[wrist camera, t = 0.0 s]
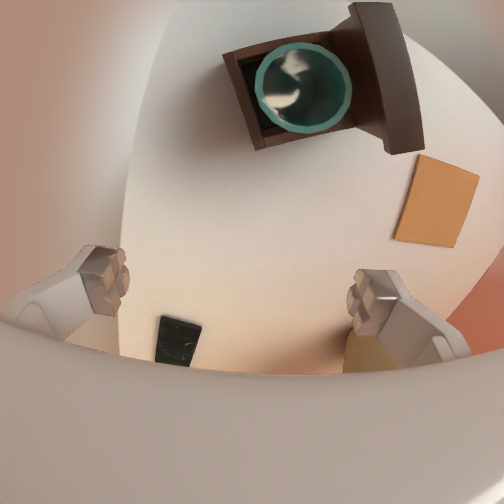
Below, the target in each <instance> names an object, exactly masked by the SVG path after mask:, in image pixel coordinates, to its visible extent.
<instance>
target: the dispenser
mask: <svg viewBox="0 0 504 504" xmlns="http://www.w3.org/2000/svg"><path fill="white" fill-rule="evenodd" d="M348 9H349V12H350V14H351V16H350V17H349V18H347V19H346V20H344V21H343V22H341V23H340V24H339V25H337V26H336V27H334V28H333V29H331V30H330V31H325V32H318V33H311V34H305V35H299V36H293V37H288V38H283V39H278V40H274V41H269V42H265V43H261V44H257V45H253V46H249V47H246V48H242V49H239V50H235V51H234V52H233V51H232V52H229V53H225V54H223V55H222V56H223V59H224V61H225V64H226V67H227V70H228V72H229V75H230V78H231V81H232V84H233V86H234V89H235V92H236V95H237V98H238V101H239V104H240V106H241V109H242V112H243V115H244V118H245V121H246V124H247V127H248V130H249V133H250V136H251V139H252V142H253V145H254V148H255V151H257V150H260V149H264V148H267V147H271V146H275V145H278V144H282V143H286V142H290V141H294V140H298V139H302V138H306V137H311V136H315V135H320V134H324V133H329V132H334V131H339V130H344V129H349V128H354V127H356V128H359V129H361V130H363V131H365V132H367V133H369V134H372V135H374V136H376V137H378V138H380V139H382V140H383V144H384V150H385V152H387V153H389V154H391V155H396V154H401V153H407V152H413V151H418V150H424V149H425V145H424V135H423V127H422V119H421V112H420V106H419V100H418V94H417V89H416V84H415V79H414V75H413V70H412V66H411V62H410V58H409V54H408V51H407V47H406V43H405V40H404V37H403V33H402V31H401V27H400V24H399V22H398V18H397V16H396V13H395V10H394V7H393V5H392V3H382V2H381V3H380V2H354V3H352V4H351V5H349V6H348ZM297 42H304V43H309V44H315V45H319V46H322V47H323V48H325V49H327V50H328V51H330V52H331V53H333V54H335V55H336V56H337V57H338V58H339V59H340V61H341V62H342V63H343V65H344V66H345V67H346V69H347V70H348V73H349V76H350V80H351V84H352V96H351V103H350V106H349V108H348V110H347V111H346V113H345V114H344V116H343V117H342V119H341V120H340V121H339V122H337V123H336V124H334V125H333V126H331V127H330V128H328V129H327V130H324V131H319V132H315V133H310V134H305V133H298V132H291V131H288V130H286V129H284V128H283V127H281V126H278V127H275V128H271V129H267V130H263V131H262V130H261V127H260V124H259V121H258V118H257V115H256V112H255V109H254V106H253V103H252V100H251V97H250V94H249V91H248V88H247V85H246V82H245V79H244V77H243V74H242V71H241V68H240V65H242V64H245V63H249V62H252V61H256V60H260V59H264V58H265V57H266V56H267V55H268V54H270V53H271V52H273V51H274V50H275V49H277V48H278V47H280V46H282V45H287V44H292V43H297Z"/></svg>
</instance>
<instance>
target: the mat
mask: <svg viewBox="0 0 504 504" xmlns="http://www.w3.org/2000/svg"><path fill="white" fill-rule="evenodd" d="M479 178H480V177H479V176H478V175H475V174H473V173H470V172H468V171H465V170H463V169H460V168H458V167H455V166H452V165H450V164H447V163H444V162H441V161H439V160H436V159H433V158H430V157H427V156H424V155H421V154H419V155H418V159H417V163H416V166H415V170H414V174H413V178H412V181H411V185H410V188H409V191H408V195H407V198H406V201H405V204H404V207H403V211H402V214H401V217H400V220H399V222H398V225H397V228H396V231H395V234H394V237H393V239H394V240H399V241H407V242H415V243H422V244H429V245H436V246H443V247H450V248H453V247H454V245H455V243H456V241H457V238H458V236H459V234H460V231H461V229H462V226H463V224H464V221H465V219H466V216H467V213H468V211H469V208H470V205H471V202H472V199H473V196H474V193H475V190H476V187H477V184H478V181H479Z"/></svg>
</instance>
